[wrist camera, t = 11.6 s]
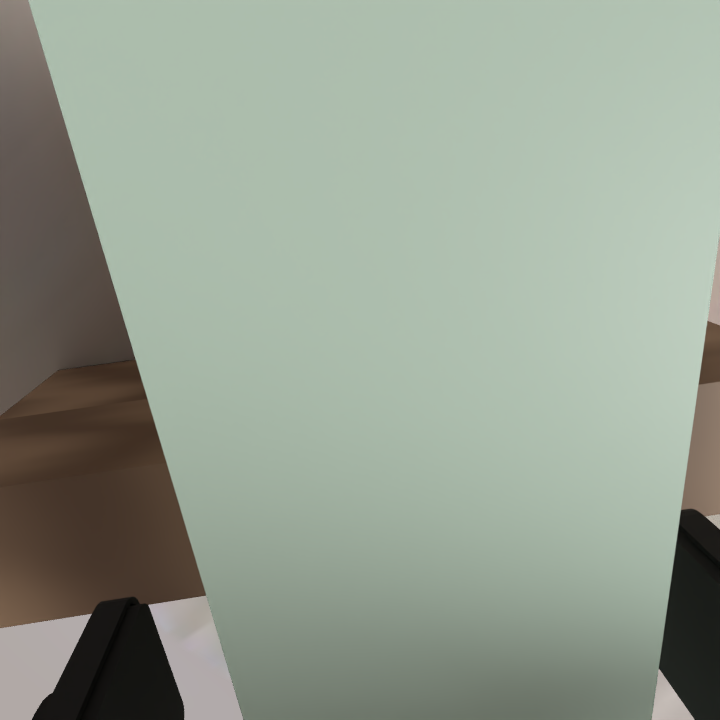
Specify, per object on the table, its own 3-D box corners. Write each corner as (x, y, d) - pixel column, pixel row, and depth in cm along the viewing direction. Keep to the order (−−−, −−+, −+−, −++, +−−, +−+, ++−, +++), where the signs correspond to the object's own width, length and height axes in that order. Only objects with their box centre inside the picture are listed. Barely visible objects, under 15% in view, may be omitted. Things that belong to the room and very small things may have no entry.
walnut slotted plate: (91, 462, 20) (-39, 634, 13) (58, 370, 19) (-111, 503, 11) (622, 384, 21) (793, 502, 14) (630, 291, 20) (825, 365, 12)
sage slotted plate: (265, 134, 16) (10, -64, 3) (385, 120, 17) (771, -142, 3) (337, 562, 23) (378, 1171, 9) (423, 548, 23) (594, 1125, 9)
